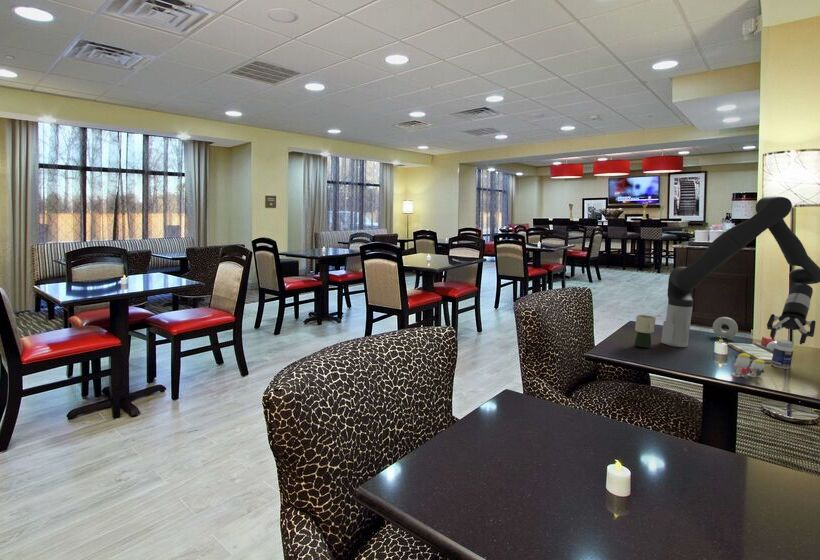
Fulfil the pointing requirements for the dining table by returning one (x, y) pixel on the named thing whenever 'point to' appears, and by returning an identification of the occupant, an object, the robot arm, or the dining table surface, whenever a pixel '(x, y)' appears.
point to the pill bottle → (782, 354)
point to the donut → (728, 321)
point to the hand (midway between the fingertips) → (786, 340)
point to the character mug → (644, 330)
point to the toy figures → (744, 361)
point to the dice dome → (767, 344)
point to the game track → (753, 351)
